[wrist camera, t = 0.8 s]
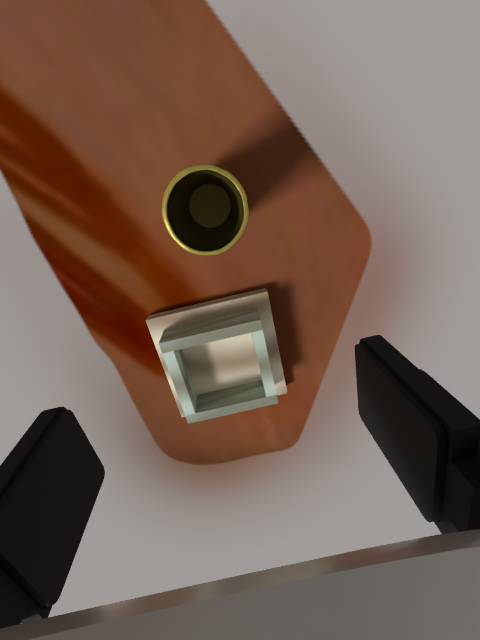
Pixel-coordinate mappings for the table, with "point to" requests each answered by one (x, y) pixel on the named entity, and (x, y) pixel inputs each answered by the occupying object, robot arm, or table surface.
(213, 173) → the vase
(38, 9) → the table surface
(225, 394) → the vase stand
